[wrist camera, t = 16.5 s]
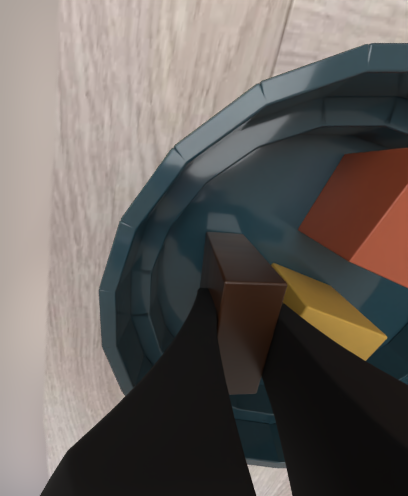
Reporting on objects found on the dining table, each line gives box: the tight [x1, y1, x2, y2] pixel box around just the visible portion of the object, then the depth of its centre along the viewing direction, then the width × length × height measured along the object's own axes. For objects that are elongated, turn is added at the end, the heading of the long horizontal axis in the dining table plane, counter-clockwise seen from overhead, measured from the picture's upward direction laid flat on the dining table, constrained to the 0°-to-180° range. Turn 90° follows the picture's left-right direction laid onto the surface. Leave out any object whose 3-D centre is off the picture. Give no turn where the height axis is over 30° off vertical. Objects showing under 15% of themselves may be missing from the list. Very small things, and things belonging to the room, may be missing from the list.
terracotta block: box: [298, 148, 408, 288], centre depth 9 cm, size 4×4×4 cm
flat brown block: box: [200, 232, 287, 395], centre depth 9 cm, size 2×5×5 cm, turn 174°
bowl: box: [99, 43, 408, 468], centre depth 11 cm, size 19×19×4 cm
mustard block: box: [261, 263, 387, 377], centre depth 11 cm, size 4×4×4 cm
